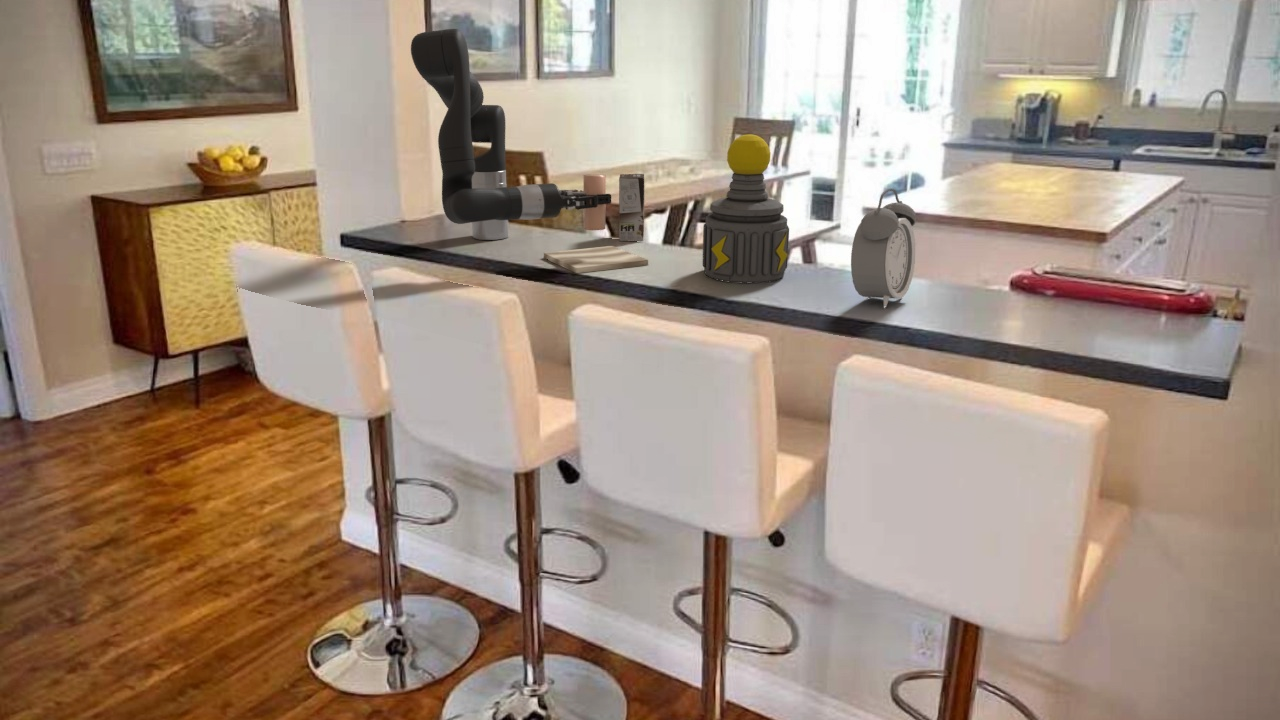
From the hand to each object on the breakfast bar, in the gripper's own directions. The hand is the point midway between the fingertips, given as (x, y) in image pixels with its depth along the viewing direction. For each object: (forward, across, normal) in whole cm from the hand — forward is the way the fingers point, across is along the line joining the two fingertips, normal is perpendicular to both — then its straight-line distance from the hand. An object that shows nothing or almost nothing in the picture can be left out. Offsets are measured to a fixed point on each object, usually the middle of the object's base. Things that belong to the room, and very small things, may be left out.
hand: (604, 197), depth 217 cm
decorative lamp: (+21, -27, +15) cm, 37 cm away
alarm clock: (+31, -59, +15) cm, 68 cm away
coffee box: (+19, +21, +15) cm, 32 cm away
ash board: (-2, 0, +15) cm, 15 cm away
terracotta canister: (-3, 0, +7) cm, 7 cm away
